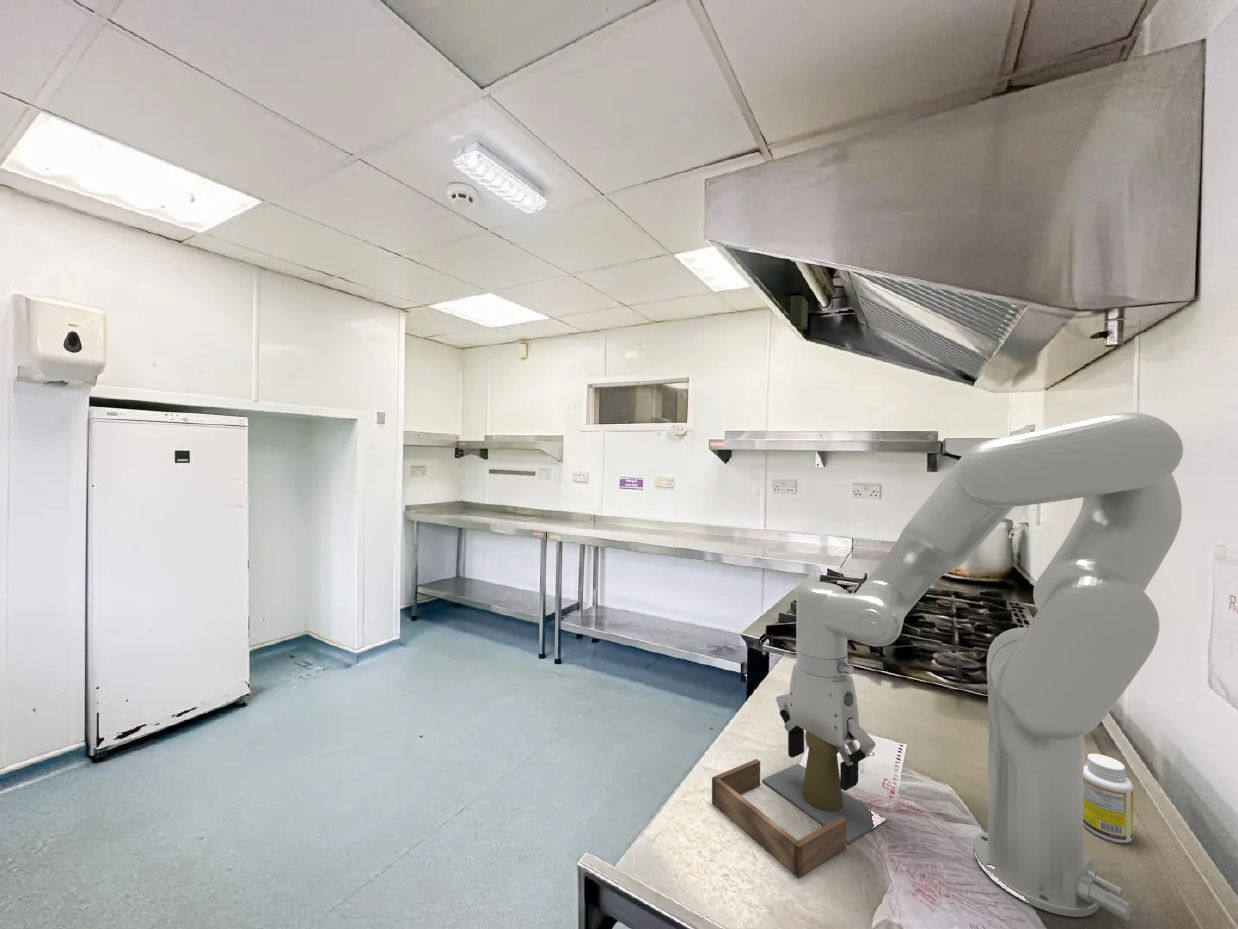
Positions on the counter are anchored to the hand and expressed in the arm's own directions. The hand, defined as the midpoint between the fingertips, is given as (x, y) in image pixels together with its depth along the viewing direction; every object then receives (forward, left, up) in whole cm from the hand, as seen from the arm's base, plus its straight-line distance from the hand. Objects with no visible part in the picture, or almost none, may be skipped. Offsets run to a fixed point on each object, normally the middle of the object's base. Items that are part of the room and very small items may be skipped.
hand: (821, 770), depth 79 cm
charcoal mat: (0, 0, -5) cm, 5 cm away
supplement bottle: (-25, -30, -5) cm, 40 cm away
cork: (0, 0, -5) cm, 5 cm away
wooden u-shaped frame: (0, +10, -5) cm, 11 cm away
